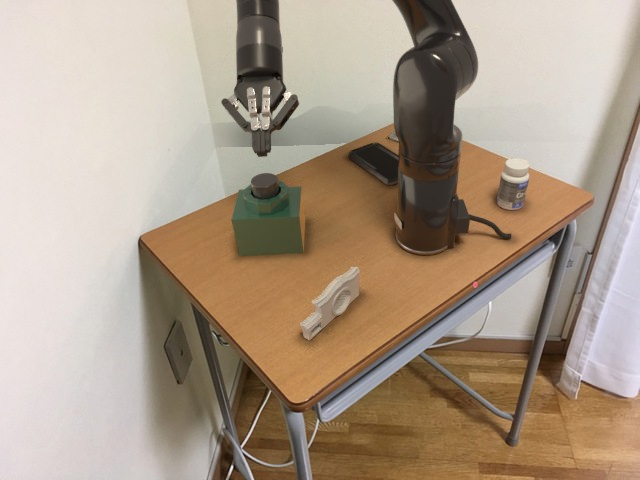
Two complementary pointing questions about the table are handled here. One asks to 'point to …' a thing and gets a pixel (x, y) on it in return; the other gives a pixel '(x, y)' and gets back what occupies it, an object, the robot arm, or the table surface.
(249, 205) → the dispenser
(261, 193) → the dark push button
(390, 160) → the phone
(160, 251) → the table surface
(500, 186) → the pill bottle
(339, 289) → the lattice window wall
